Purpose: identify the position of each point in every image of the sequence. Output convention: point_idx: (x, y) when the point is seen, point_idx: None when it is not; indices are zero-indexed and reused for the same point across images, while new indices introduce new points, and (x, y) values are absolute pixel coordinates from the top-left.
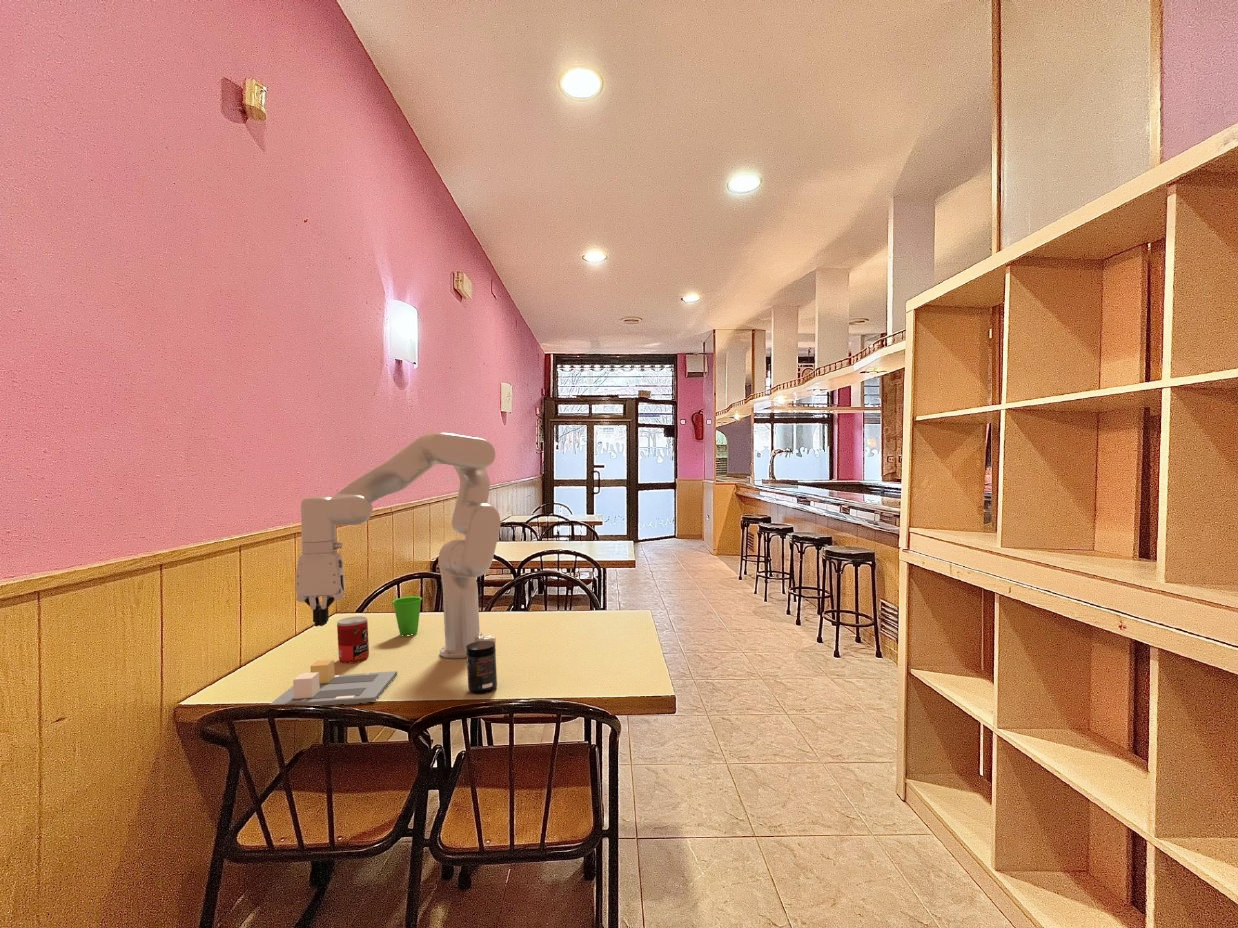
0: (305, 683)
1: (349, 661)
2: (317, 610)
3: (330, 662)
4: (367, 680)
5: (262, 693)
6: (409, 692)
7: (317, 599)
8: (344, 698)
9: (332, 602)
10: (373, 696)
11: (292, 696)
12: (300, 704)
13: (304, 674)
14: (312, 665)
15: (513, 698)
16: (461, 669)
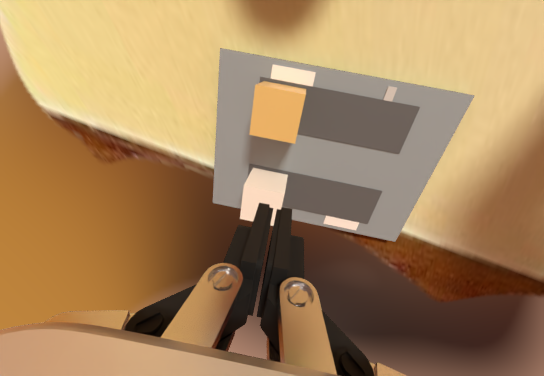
0: None
1: None
2: (250, 314)
3: (299, 122)
4: (387, 146)
5: (159, 100)
6: (462, 215)
7: (212, 329)
8: (340, 226)
9: (338, 339)
10: (392, 237)
11: (240, 178)
12: None
13: (254, 196)
14: (253, 131)
15: None
16: None
